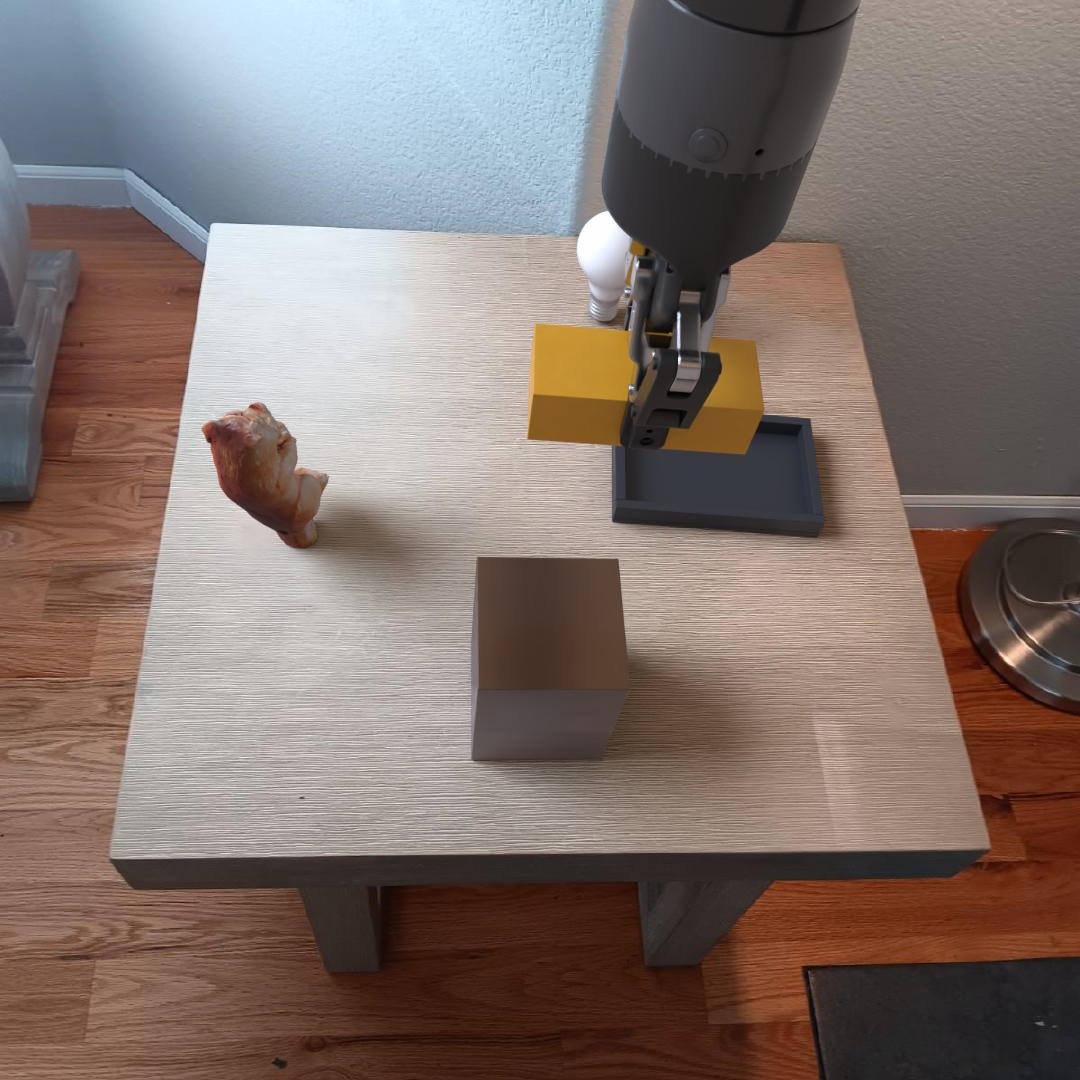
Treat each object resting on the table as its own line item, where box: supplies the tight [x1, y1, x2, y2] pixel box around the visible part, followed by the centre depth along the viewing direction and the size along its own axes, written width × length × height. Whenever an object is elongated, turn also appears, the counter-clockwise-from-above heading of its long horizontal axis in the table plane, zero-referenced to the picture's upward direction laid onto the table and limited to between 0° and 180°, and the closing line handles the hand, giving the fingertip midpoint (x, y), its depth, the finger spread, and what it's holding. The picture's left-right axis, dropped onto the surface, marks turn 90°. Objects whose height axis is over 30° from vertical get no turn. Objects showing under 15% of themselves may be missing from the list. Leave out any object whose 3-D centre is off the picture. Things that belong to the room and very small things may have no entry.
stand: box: [470, 556, 631, 761], centre depth 66 cm, size 9×9×12 cm
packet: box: [526, 323, 766, 455], centre depth 50 cm, size 11×4×4 cm, turn 89°
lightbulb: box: [576, 210, 630, 322], centre depth 87 cm, size 6×6×11 cm
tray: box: [611, 413, 826, 538], centre depth 82 cm, size 11×17×2 cm, turn 88°
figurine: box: [200, 401, 330, 549], centre depth 70 cm, size 6×8×15 cm
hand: (638, 401), depth 51 cm, fingers closed on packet, 4 cm apart
